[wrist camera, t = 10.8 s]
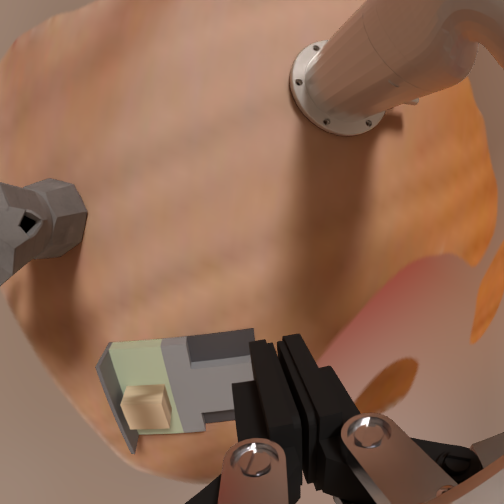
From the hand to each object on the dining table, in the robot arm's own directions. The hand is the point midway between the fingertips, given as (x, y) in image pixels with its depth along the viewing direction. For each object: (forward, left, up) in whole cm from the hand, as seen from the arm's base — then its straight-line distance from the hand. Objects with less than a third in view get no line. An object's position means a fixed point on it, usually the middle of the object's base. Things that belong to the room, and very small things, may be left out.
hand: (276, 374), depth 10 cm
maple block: (+12, +18, -23) cm, 31 cm away
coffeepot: (+21, -6, -25) cm, 33 cm away
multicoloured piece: (+7, +17, -25) cm, 31 cm away
